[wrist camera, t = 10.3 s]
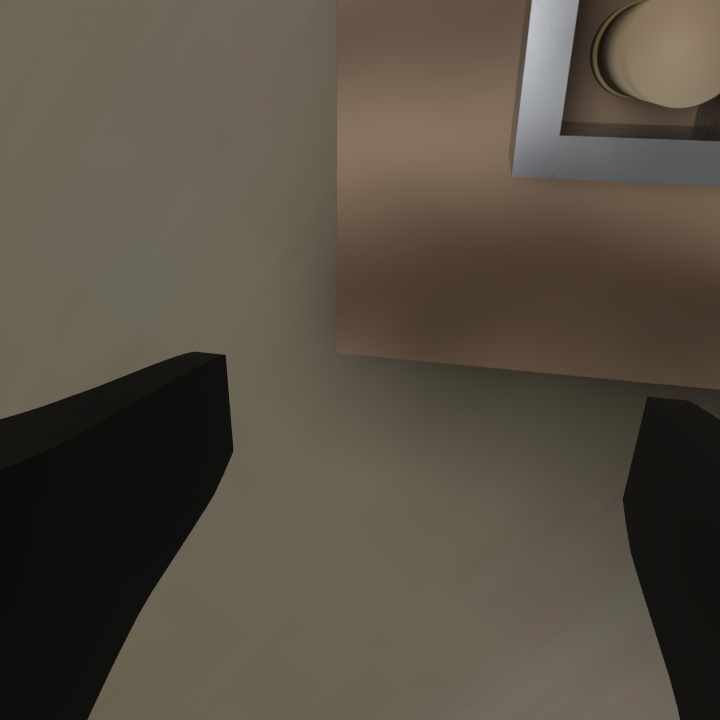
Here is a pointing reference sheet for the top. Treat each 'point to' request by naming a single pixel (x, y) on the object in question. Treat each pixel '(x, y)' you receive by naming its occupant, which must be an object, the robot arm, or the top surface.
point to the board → (521, 195)
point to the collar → (595, 140)
